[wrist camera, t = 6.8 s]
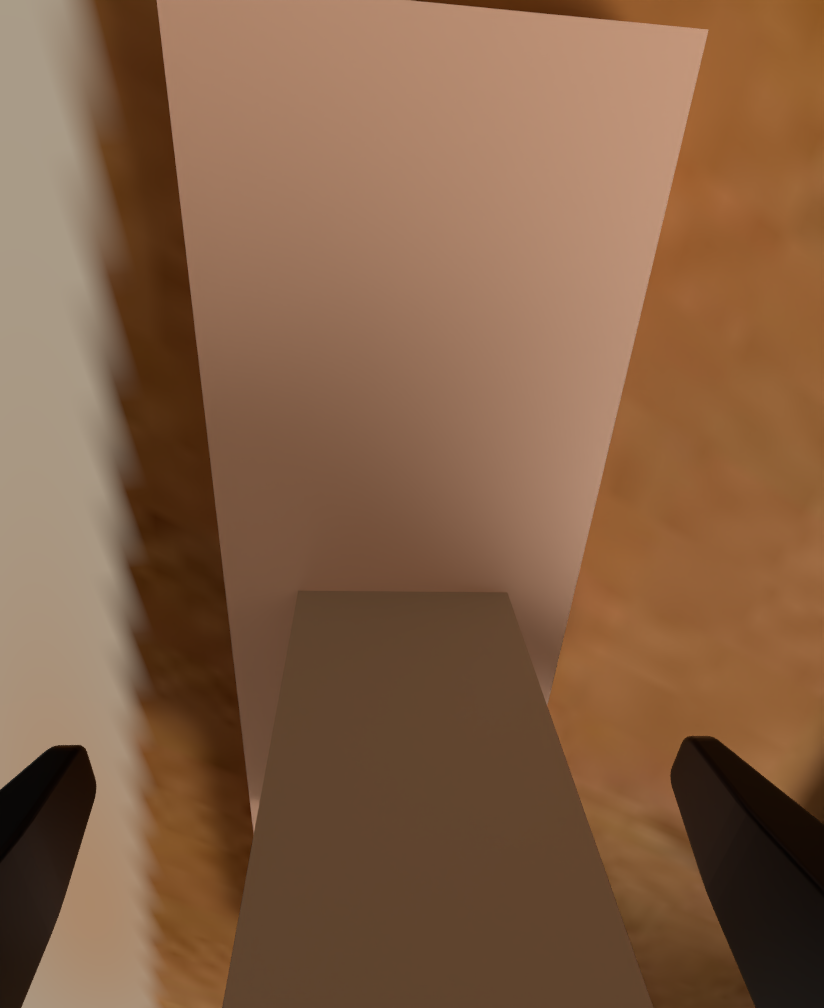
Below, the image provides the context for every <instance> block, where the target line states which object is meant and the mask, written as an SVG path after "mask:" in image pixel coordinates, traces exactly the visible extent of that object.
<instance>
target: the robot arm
mask: <svg viewBox="0 0 824 1008" xmlns="http://www.w3.org/2000/svg"><path fill="white" fill-rule="evenodd" d="M670 776H671V785H672V788H673V791H674V794H675V798H676V801H677V804H678V807H679V810H680V813H681V816H682V819H683V822H684V825H685V829H686V832H687V835H688V838H689V841H690V844H691V847H692V850H693V853H694V856H695V860H696V863H697V866H698V869H699V872H700V875H701V878H702V880H703V883H704V886H705V889H706V892H707V894H708V897H709V899H710V902H711V904H712V906H713V909H714V911H715V914H716V916H717V918H718V921H719V923H720V925H721V928H722V930H723V932H724V935H725V937H726V939H727V942H728V944H729V946H730V949H731V951H732V953H733V956H734V958H735V960H736V963H737V965H738V967H739V970H740V972H741V975H742V977H743V979H744V982H745V984H746V986H747V989H748V991H749V993H750V996H751V998H752V1000H753V1003H754V1005H755V1007H756V1008H824V825H823V824H822V823H821V822H820V821H819V820H817V819H816V818H815V817H814V816H812V815H811V814H810V813H809V812H807V811H806V810H805V809H804V808H802V807H801V806H800V805H799V804H797V803H796V802H795V801H794V800H792V799H791V798H790V797H789V796H787V795H786V794H785V793H784V792H782V791H781V790H780V789H779V788H777V787H776V786H775V785H774V784H772V783H771V782H770V781H769V780H767V779H766V778H765V777H764V776H762V775H761V774H760V773H759V772H757V771H756V770H755V769H754V768H752V767H751V766H750V765H749V764H747V763H746V762H745V761H744V760H742V759H741V758H740V757H739V756H737V755H736V754H735V753H734V752H732V751H731V750H730V749H729V748H727V747H726V746H725V745H724V744H722V743H721V742H720V741H719V740H717V739H715V738H714V737H711V736H688V737H686V738H685V739H684V740H683V742H682V744H681V746H680V749H679V751H678V754H677V756H676V759H675V761H674V763H673V766H672V769H671V775H670ZM95 794H96V780H95V776H94V773H93V770H92V767H91V763H90V760H89V757H88V754H87V751H86V749H85V748H84V747H82V746H81V745H58V746H54V747H51V748H50V749H48V750H46V751H45V752H44V753H43V754H42V755H40V756H39V757H38V758H37V759H36V760H35V761H33V762H32V763H31V764H30V765H29V766H27V767H26V768H25V769H24V770H23V771H22V772H21V773H19V774H18V775H17V776H16V777H15V778H13V779H12V780H11V781H10V782H9V783H8V784H7V785H5V786H4V787H3V788H2V789H1V790H0V1008H21V1007H22V1004H23V1002H24V1000H25V997H26V995H27V992H28V990H29V988H30V985H31V982H32V980H33V978H34V975H35V973H36V970H37V968H38V966H39V963H40V961H41V958H42V956H43V953H44V951H45V949H46V946H47V944H48V941H49V939H50V936H51V934H52V931H53V929H54V926H55V923H56V921H57V918H58V916H59V913H60V910H61V907H62V904H63V901H64V898H65V895H66V891H67V888H68V885H69V881H70V878H71V875H72V871H73V868H74V865H75V861H76V859H77V855H78V852H79V849H80V845H81V842H82V839H83V835H84V832H85V829H86V825H87V822H88V819H89V816H90V812H91V809H92V806H93V803H94V799H95Z"/></svg>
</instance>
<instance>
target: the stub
mask: <svg viewBox="0 0 824 1008" xmlns="http://www.w3.org/2000/svg"><path fill="white" fill-rule="evenodd" d="M157 8H158V16H159V25H160V34H161V42H162V51H163V59H164V68H165V76H166V85H167V94H168V102H169V111H170V119H171V128H172V137H173V145H174V154H175V162H176V171H177V180H178V188H179V197H180V205H181V214H182V223H183V231H184V240H185V248H186V257H187V265H188V274H189V283H190V291H191V300H192V308H193V317H194V326H195V334H196V343H197V351H198V360H199V369H200V377H201V386H202V394H203V403H204V412H205V420H206V429H207V437H208V446H209V455H210V463H211V472H212V480H213V489H214V497H215V506H216V515H217V523H218V532H219V540H220V549H221V558H222V566H223V575H224V583H225V592H226V601H227V609H228V618H229V626H230V635H231V644H232V652H233V661H234V669H235V678H236V686H237V695H238V704H239V712H240V721H241V729H242V738H243V747H244V755H245V764H246V772H247V781H248V790H249V798H250V807H251V815H252V824H253V833H254V836H253V842H252V847H251V853H250V858H249V864H248V869H247V875H246V880H245V886H244V891H243V897H242V902H241V908H240V913H239V919H238V924H237V930H236V935H235V941H234V946H233V952H232V957H231V963H230V968H229V974H228V979H227V985H226V990H225V996H224V1001H223V1007H222V1008H653V1005H652V1003H651V1000H650V997H649V994H648V991H647V988H646V985H645V983H644V980H643V977H642V974H641V971H640V968H639V966H638V963H637V960H636V957H635V954H634V951H633V948H632V946H631V943H630V940H629V937H628V934H627V931H626V929H625V926H624V923H623V920H622V917H621V914H620V912H619V909H618V906H617V903H616V900H615V897H614V894H613V892H612V889H611V886H610V883H609V880H608V877H607V875H606V872H605V869H604V866H603V863H602V860H601V858H600V855H599V852H598V849H597V846H596V843H595V840H594V838H593V835H592V832H591V829H590V826H589V823H588V821H587V818H586V815H585V812H584V809H583V806H582V803H581V801H580V798H579V795H578V792H577V789H576V786H575V784H574V781H573V778H572V775H571V772H570V769H569V767H568V764H567V761H566V758H565V755H564V752H563V749H562V747H561V744H560V741H559V738H558V735H557V732H556V730H555V727H554V724H553V721H552V718H551V715H550V713H549V710H548V707H547V704H548V700H549V696H550V692H551V688H552V683H553V679H554V675H555V671H556V667H557V662H558V658H559V654H560V650H561V646H562V642H563V637H564V633H565V629H566V625H567V621H568V616H569V612H570V608H571V604H572V600H573V595H574V591H575V587H576V583H577V579H578V574H579V570H580V566H581V562H582V558H583V554H584V549H585V545H586V541H587V537H588V533H589V528H590V524H591V520H592V516H593V512H594V507H595V503H596V499H597V495H598V491H599V487H600V482H601V478H602V474H603V470H604V466H605V461H606V457H607V453H608V449H609V445H610V440H611V436H612V432H613V428H614V424H615V419H616V415H617V411H618V407H619V403H620V399H621V394H622V390H623V386H624V382H625V378H626V373H627V369H628V365H629V361H630V357H631V352H632V348H633V344H634V340H635V336H636V331H637V327H638V323H639V319H640V315H641V311H642V306H643V302H644V298H645V294H646V290H647V285H648V281H649V277H650V273H651V269H652V264H653V260H654V256H655V252H656V248H657V243H658V239H659V235H660V231H661V227H662V223H663V218H664V214H665V210H666V206H667V202H668V197H669V193H670V189H671V185H672V181H673V176H674V172H675V168H676V164H677V160H678V155H679V151H680V147H681V143H682V139H683V135H684V130H685V126H686V122H687V118H688V114H689V109H690V105H691V101H692V97H693V93H694V88H695V84H696V80H697V76H698V72H699V67H700V63H701V59H702V55H703V51H704V47H705V42H706V38H707V34H708V30H706V29H696V28H686V27H675V26H665V25H655V24H645V23H635V22H625V21H614V20H604V19H594V18H584V17H574V16H564V15H553V14H543V13H533V12H523V11H513V10H503V9H492V8H482V7H472V6H462V5H452V4H441V3H431V2H421V1H411V0H157Z"/></svg>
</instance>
